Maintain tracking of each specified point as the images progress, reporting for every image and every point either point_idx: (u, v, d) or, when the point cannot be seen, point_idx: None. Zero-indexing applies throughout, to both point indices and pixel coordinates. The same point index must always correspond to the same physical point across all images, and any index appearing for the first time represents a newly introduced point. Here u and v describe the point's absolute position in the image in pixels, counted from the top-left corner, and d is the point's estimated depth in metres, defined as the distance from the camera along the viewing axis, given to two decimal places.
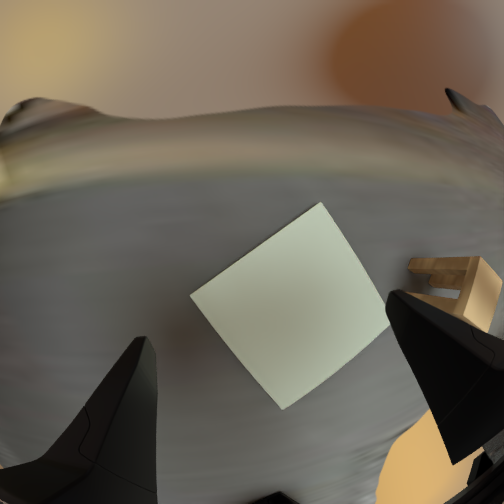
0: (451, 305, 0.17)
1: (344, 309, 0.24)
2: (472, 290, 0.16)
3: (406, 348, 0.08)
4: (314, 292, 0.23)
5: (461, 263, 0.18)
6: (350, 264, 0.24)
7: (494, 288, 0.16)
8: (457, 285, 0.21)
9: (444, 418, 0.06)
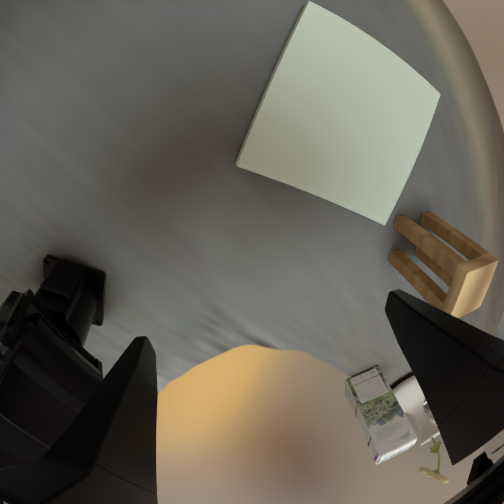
0: (457, 259, 0.16)
1: (378, 160, 0.19)
2: (481, 268, 0.15)
3: (406, 348, 0.08)
4: (379, 119, 0.17)
5: (479, 249, 0.17)
6: (413, 144, 0.19)
7: (477, 300, 0.17)
8: (444, 269, 0.21)
9: (444, 418, 0.06)
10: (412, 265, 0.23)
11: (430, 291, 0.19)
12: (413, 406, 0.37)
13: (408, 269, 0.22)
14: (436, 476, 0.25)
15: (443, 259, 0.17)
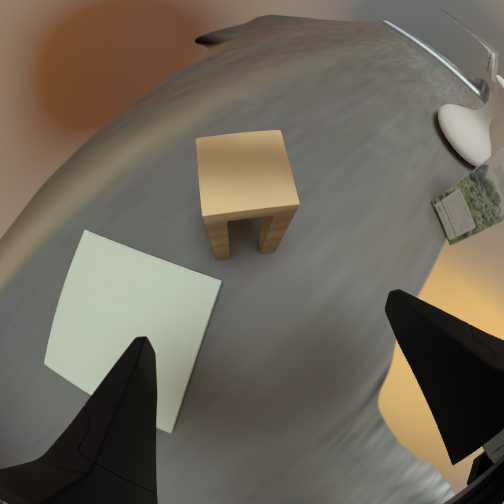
0: None
1: (152, 304, 0.21)
2: (201, 179, 0.14)
3: (406, 348, 0.08)
4: (115, 307, 0.21)
5: None
6: (133, 260, 0.22)
7: (263, 146, 0.15)
8: None
9: (444, 418, 0.06)
10: (262, 234, 0.21)
11: (271, 226, 0.17)
12: (479, 125, 0.24)
13: (265, 242, 0.20)
14: None
15: (215, 232, 0.16)
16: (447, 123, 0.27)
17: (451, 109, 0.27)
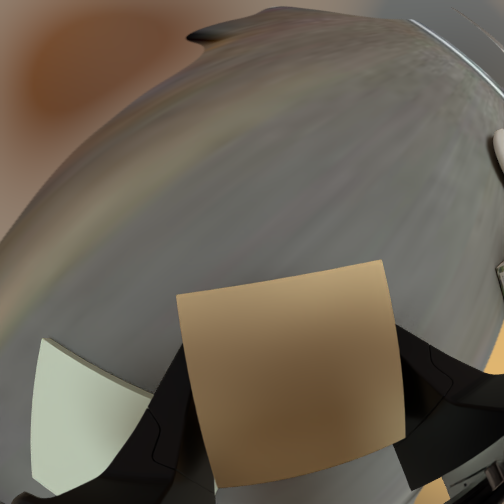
0: None
1: None
2: (205, 418, 0.05)
3: None
4: (100, 446, 0.12)
5: None
6: (110, 395, 0.13)
7: (348, 317, 0.06)
8: None
9: (400, 442, 0.06)
10: None
11: None
12: None
13: None
14: None
15: None
16: None
17: None
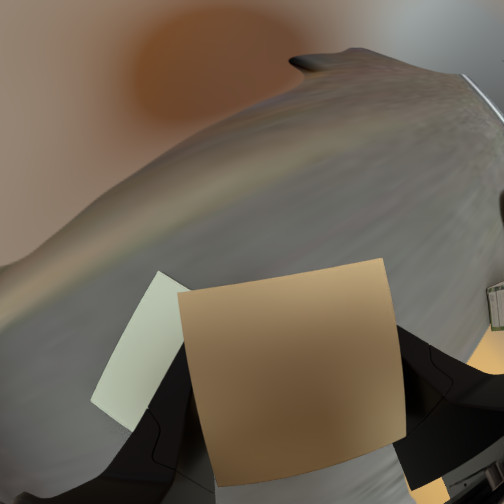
0: None
1: None
2: (205, 416, 0.05)
3: None
4: None
5: None
6: None
7: (349, 315, 0.06)
8: None
9: (400, 442, 0.06)
10: None
11: None
12: None
13: None
14: None
15: None
16: None
17: None
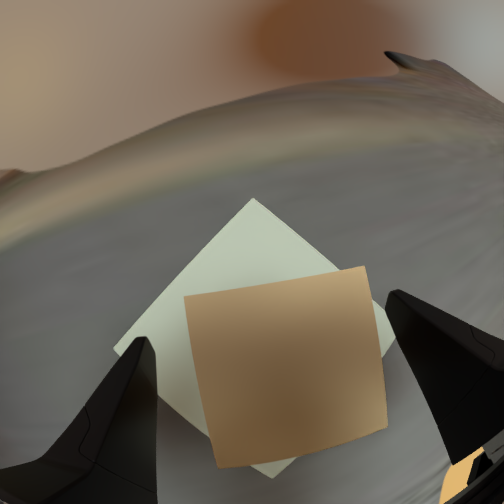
0: None
1: None
2: (208, 404, 0.06)
3: (406, 348, 0.08)
4: None
5: None
6: (315, 267, 0.18)
7: (333, 316, 0.07)
8: None
9: (444, 418, 0.06)
10: None
11: None
12: None
13: None
14: None
15: None
16: None
17: None
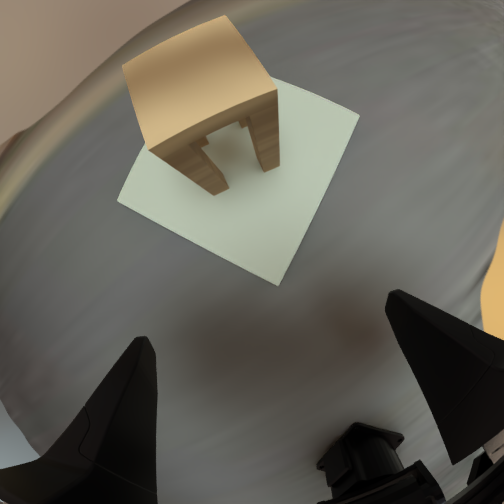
0: None
1: (281, 126, 0.18)
2: (137, 106, 0.09)
3: (406, 348, 0.08)
4: (234, 126, 0.18)
5: None
6: None
7: (207, 39, 0.08)
8: None
9: (444, 418, 0.06)
10: (255, 149, 0.15)
11: (256, 133, 0.11)
12: None
13: (261, 157, 0.15)
14: None
15: (184, 163, 0.11)
16: None
17: None
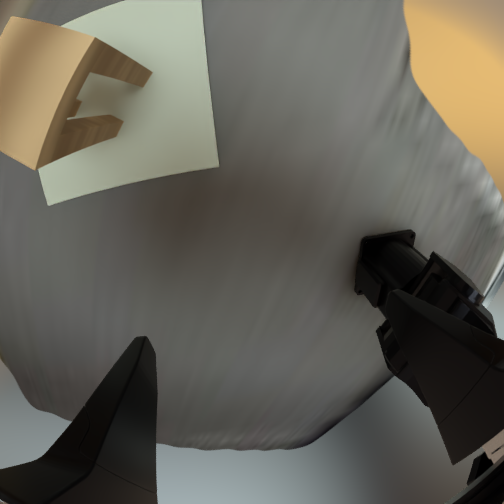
0: None
1: (132, 40, 0.12)
2: (1, 147, 0.06)
3: (406, 348, 0.08)
4: None
5: None
6: (91, 22, 0.11)
7: (11, 47, 0.04)
8: None
9: (444, 418, 0.06)
10: None
11: (108, 74, 0.08)
12: None
13: (130, 81, 0.11)
14: None
15: (70, 145, 0.09)
16: None
17: None
